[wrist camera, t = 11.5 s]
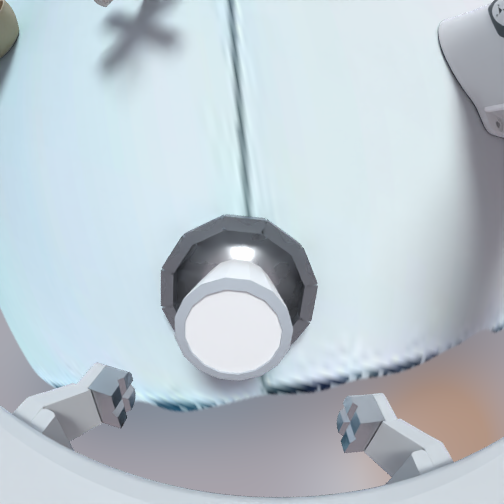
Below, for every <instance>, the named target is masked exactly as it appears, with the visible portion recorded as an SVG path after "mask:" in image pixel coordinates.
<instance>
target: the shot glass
mask: <svg viewBox="0 0 504 504" xmlns="http://www.w3.org/2000/svg"><path fill="white" fill-rule="evenodd" d="M292 333H293V326H292V323H291V319H290V315H289V312H288V309H287V307H286V305H285V303H284V302H283V300H282V298H281V296H280V295H279V293H278V291H277V290H276V288H275V286H274V284H273V283H272V281H271V279H270V278H269V276H268V275H267V274H266V273H265V272H264V270H263V269H262V268H261V267H260V266H258V265H256V264H254V263H252V262H250V261H248V260H240V259H232V260H229V261H225V262H222V263H220V264H218V265H217V266H216V267H215V268H214V269H212V270H211V271H210V272H209V273H208V274H207V275H206V276H205V277H204V278H203V279H202V280H201V281H200V282H199V283H198V284H197V285H196V286H195V287H194V288H193V289H192V290H191V291H190V292H189V293H188V294H187V296H186V297H185V298H184V299H183V301H182V303H181V305H180V307H179V309H178V311H177V313H176V316H175V338H176V341H177V343H178V345H179V347H180V349H181V351H182V353H183V355H184V357H185V358H187V359H188V360H189V361H190V362H191V363H192V364H193V365H194V366H195V367H196V368H197V369H198V370H200V371H202V372H204V373H207V374H209V375H211V376H213V377H216V378H218V379H226V380H236V381H241V380H246V379H250V378H255V377H259V376H262V375H263V374H265V373H266V372H268V371H270V370H271V369H273V368H274V367H276V366H277V365H278V364H279V363H280V362H281V360H282V359H283V357H284V356H285V355H286V353H287V352H288V350H289V349H290V344H291V339H292Z"/></svg>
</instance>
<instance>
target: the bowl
mask: <svg viewBox="0 0 504 504" xmlns="http://www.w3.org/2000/svg"><path fill="white" fill-rule="evenodd" d="M232 259H240V260H248V261H250V262H252V263H254V264H256V265H258V266H260V267H261V268H262V269H263V270H264V272H265V273H266V274H267V275H268V276H269V278H270V279H271V281H272V283H273V284H274V286H275V288H276V290H277V291H278V293H279V295H280V296H281V298H282V300H283V302H284V303H285V305H286V307H287V309H288V312H289V315H290V319H291V323H292V326H293V333H292V339H291V344H292V343H293V342H294V341H295V340H296V339H297V338H298V337H299V336H300V334H301V333H302V332H303V331H304V330H305V329H306V327H307V326H308V325H309V324H310V322H309V321H311V319H312V314H313V309H314V304H315V299H316V293H317V288H318V286H317V281H316V278H315V276H314V273H313V271H312V268H311V265H310V263H309V260H308V258H307V255H306V253H305V251H304V248H303V247H302V246H301V245H300V244H299V243H298V242H297V241H296V240H295V239H293V238H292V237H291V236H289V235H288V234H287V233H285V232H284V231H283V230H281V229H280V228H279V227H277V226H276V225H274V224H273V223H272V222H270V221H269V220H268V219H267V220H266V219H265V218H257V217H248V216H238V215H227V214H226V215H225V216H224V215H222V216H220V217H218V218H216V219H214V220H211V221H209V222H207V223H205V224H203V225H201V226H199V227H197V228H194V229H192V230H190V231H188V232H187V233H185V234H184V235H183V236H182V237H181V238H180V240H179V241H178V243H177V245H176V246H175V248H174V249H173V251H172V252H171V254H170V256H169V257H168V259H167V260H166V262H165V264H164V265H163V267H162V268H163V269H162V270H161V306H163V308H162V310H163V312H164V313H165V315H166V317H167V319H168V320H169V322H170V324H171V325H172V327H173V329H174V330H175V316H176V313H177V311H178V309H179V307H180V305H181V303H182V301H183V299H184V298H185V297H186V296H187V294H188V293H189V292H190V291H191V290H192V289H193V288H194V287H195V286H196V285H197V284H198V283H199V282H200V281H201V280H202V279H203V278H204V277H205V276H206V275H207V274H208V273H209V272H210V271H211V270H212V269H214V268H215V267H216V266H217V265H218V264H220V263H222V262H225V261H229V260H232ZM291 344H290V346H291Z"/></svg>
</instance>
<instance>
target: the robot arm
mask: <svg viewBox="0 0 504 504" xmlns="http://www.w3.org/2000/svg"><path fill="white" fill-rule="evenodd" d="M438 33H439V40H440V44H441V47H442V50H443V53H444V55H445V57H446V60H447V62H448V64H449V66H450V68H451V70H452V71H453V73H454V75H455V77H456V78H457V80H458V81H459V83H460V85H461V86H462V88H463V89H464V90H465V92H466V93H467V95H468V96H469V97H470V99H471V100H472V101H473V103H474V104H475V106H476V108H477V110H478V112H479V115H480V117H481V119H482V122H483V124H484V126H485V128H486V130H487V131H488V132H489V133H490V134H492V135H496V136H499V137H502V138H504V0H494V1H493V2H492V3H490V4H487V5H485V6H482V7H480V8H477V9H475V10H473V11H470V12H468V13H463V14H461V15H459V16H456V17H452V18H448V19H445V20H443V21H442V22H441V23H440V25H439V30H438ZM132 381H133V378H132V374H131V373H130V372H127V371H124V370H120V369H117V368H114V367H111V366H107V365H104V364H101V363H98V362H97V363H94V364H93V366H92V367H91V368H90V369H89V370H88V371H87V372H86V374H85V375H84V376H83V377H82V378H81V379H80V381H79V382H78V383H77V384H74V383H72V384H69V385H66V386H63V387H60V388H57V389H54V390H50V391H47V392H44V393H40V394H37V395H33V396H30V397H27V399H26V400H25V401H24V402H23V403H22V404H21V405H20V406H19V407H18V408H17V409H16V410H15V412H13V414H11V413H10V412H8V411H7V410H6V409H4V408H3V407H2V406H0V504H504V437H503V438H501V439H499V440H498V441H496V442H494V443H492V444H491V445H489V446H487V447H485V448H483V449H481V450H479V451H477V452H475V453H473V454H471V455H469V456H467V457H465V458H463V459H460V460H458V461H456V462H453V460H452V458H451V456H450V455H449V453H448V451H447V450H446V448H445V446H444V444H443V443H442V442H440V441H438V440H437V439H435V438H433V437H431V436H430V435H428V434H426V433H424V432H422V431H421V430H419V429H417V428H416V427H414V426H412V425H410V424H409V423H407V422H405V421H404V420H402V419H397V417H396V415H395V413H394V412H393V410H392V408H391V406H390V404H389V402H388V400H387V399H386V397H385V395H384V394H383V393H378V394H371V395H356V396H347V397H346V398H345V400H344V403H343V404H344V407H345V408H343V409H342V410H341V411H340V413H339V415H338V418H337V429H338V433H340V434H341V435H342V436H343V437H342V439H341V443H342V447H343V450H344V453H350V452H360V451H364V452H365V453H366V454H367V455H368V456H369V457H370V458H371V459H373V461H374V462H375V463H377V464H378V465H379V466H380V467H381V468H382V469H383V470H384V471H386V472H387V473H388V474H389V475H390V476H391V477H392V478H391V479H390V480H389V481H388V482H387V483H386V484H385V485H383V486H379V487H374V488H369V489H364V490H358V491H352V492H346V493H338V494H330V495H320V496H307V497H249V496H236V495H226V494H217V493H211V492H203V491H198V490H192V489H187V488H182V487H177V486H173V485H169V484H164V483H160V482H157V481H153V480H149V479H146V478H142V477H139V476H136V475H133V474H130V473H127V472H124V471H121V470H118V469H116V468H113V467H110V466H108V465H105V464H102V463H100V462H98V461H95V460H93V459H91V458H88V457H86V456H84V455H82V454H80V453H77V452H75V451H74V449H73V448H72V446H71V444H70V441H72V440H74V439H75V438H77V437H79V436H81V435H83V434H84V433H86V432H88V431H90V430H91V429H93V428H95V427H97V426H99V425H100V424H102V423H105V424H108V425H111V426H114V427H118V428H122V426H123V424H124V422H125V421H126V419H127V415H126V412H128V411H130V410H131V409H132V408H133V405H134V402H135V389H134V388H133V386H132V385H131V383H132Z"/></svg>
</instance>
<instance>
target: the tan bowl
mask: <svg viewBox="0 0 504 504" xmlns="http://www.w3.org/2000/svg"><path fill="white" fill-rule="evenodd" d="M18 34H19V27H18V22H17V19H16V16H15V14H14V12H13V10H12V8H11V7H10V5H9V4H8V3H7V2H6V1H5V0H0V58H1V57H2V56H4V55H5V54H6V53H7V52H8V51H9V50H10V48H11V47H12V45H13V44H14V42H15V41H16V39H17V36H18Z"/></svg>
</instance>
